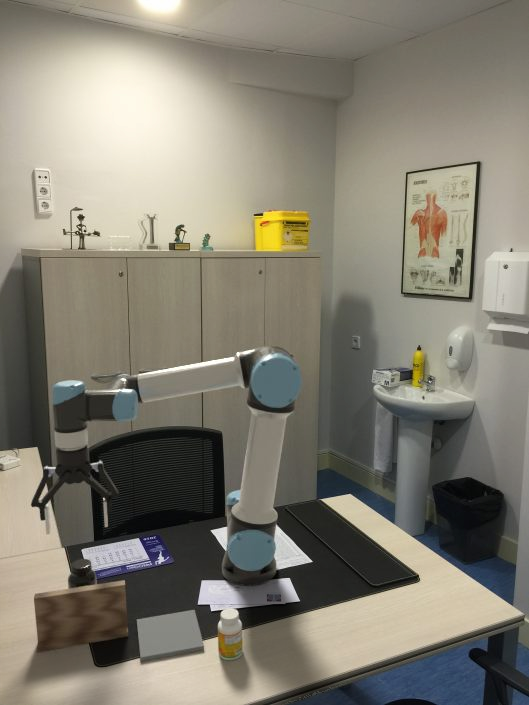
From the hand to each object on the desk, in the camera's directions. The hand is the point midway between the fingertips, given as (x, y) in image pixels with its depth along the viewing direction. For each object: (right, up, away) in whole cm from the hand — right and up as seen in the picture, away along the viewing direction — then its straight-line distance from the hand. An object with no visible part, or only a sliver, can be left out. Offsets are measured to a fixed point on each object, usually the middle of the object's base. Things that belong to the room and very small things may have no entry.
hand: (77, 528), depth 148 cm
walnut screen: (+4, -23, -7) cm, 24 cm away
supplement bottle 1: (0, -21, +4) cm, 22 cm away
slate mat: (+24, -23, -8) cm, 34 cm away
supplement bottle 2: (+38, -24, -13) cm, 47 cm away
